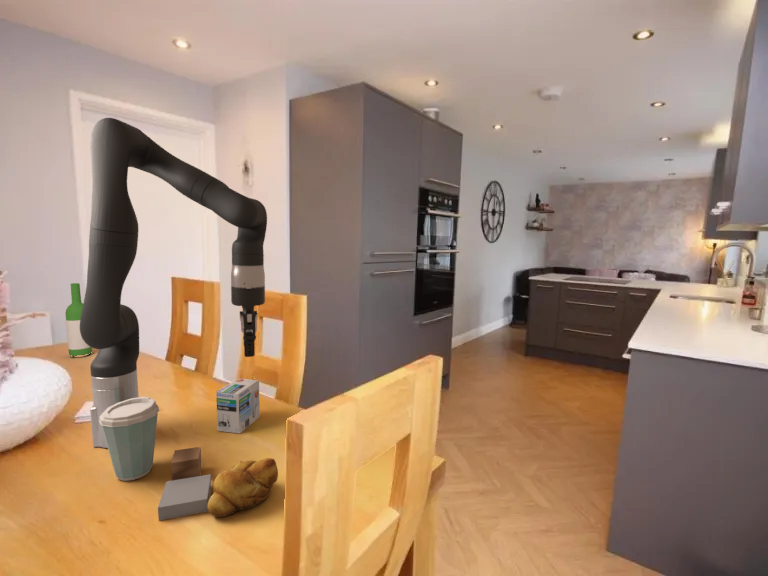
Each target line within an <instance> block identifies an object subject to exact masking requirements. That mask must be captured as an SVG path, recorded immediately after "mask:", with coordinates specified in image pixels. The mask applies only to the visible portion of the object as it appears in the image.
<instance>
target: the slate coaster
mask: <svg viewBox="0 0 768 576" xmlns="http://www.w3.org/2000/svg"><path fill="white" fill-rule="evenodd" d="M211 490H212V474H205V475H200V476H197V477H191V478H185V479H179V480H173V481H172V480H168V481H167V480H166V482H165V485H164V487H163V491H162V493H161V494H162V495H161V497H160V500H159V503H158V506H157V514H158V521H164V520H170V519H174V518H180V517H185V516H192V515H195V514H201V513H207V512H209V511H208V507H207V505H208V501H209V499H210V497H211V492H212V491H211Z"/></svg>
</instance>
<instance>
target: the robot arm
mask: <svg viewBox="0 0 768 576" xmlns="http://www.w3.org/2000/svg"><path fill="white" fill-rule="evenodd" d="M89 145H90V158H91V159H90V160H91V161H90V162H91V175H92V176H91V178H92V179H91V180H92V182H91V184H92V186H91V189H92V191H91V213H90V214H91V215H90V223H89V224H90V225H89V237H88V260H87V261H88V262H87V270H86V271H87V274H86V275H87V276H86V286H85V292H84V293H85V294H84V300H83V302H82V303H83V308H82V313H81V319H80V333H81V337H82V339H83V340H84V342H85V343H86V344H87V345H89V346H90V347H92V349H95V350H98V351H97V354H96V356H95V358H94V359H93V360H92V362H91V364H90V366H89V368H90V378H91V379H90V380H91V392H92V394H91V395H92V402H93V404H92V406H91V407H90V410H89V411H90V425H91V426H90V427H91V437H92V447H93V448H97V447H98V448H104V449H106V448H107V449H108V447H107V443H106V439H105V436H104V432H103V429H102V425H101V424H100V422H99V417H100V415H101V414H102V413H103V412H104V411H105V410H106V409H107V408H108V407H110V406H112V405H114V404H116V403H118V402H122V401H125V400H128V399H131V398H137V397H140V395H139V384H138V383H139V382H138V369H137V368H138V367H137V365H138V364H137V362H138V360H139V356H140V323H139V320H138V315H137V314H136V313H135V311H134V309H132V308H131V307H130V306H127V305H125V304H122V303H121V302H122V301H121V300H122V291H123V287H124V284H125V282H126V279H127V277H128V276H129V273H130V271H131V269H132V266H133V265H134V262H135V259H136V257H137V252H138V242H139V222H138V217H137V214H136V212H135V210H134V209H135V208H134V207H133V206H134V205H133V203H132V201H131V197H130V195H129V190H128V171H129V168H134V169H136V170H139V171H142V172H146V173H148V174H151V175H153V176H155V177H157V178H159V179H161V180H163V181H164V182H166V183H167V184H169V185H170V186H171V187H173V188H174V189H175V190H176V191H177V192H179V193H180V194H182V195H183V196H185V197H186V198H187V199H189V200H191V201H193V202H195V203H197V204H198V205H201V207H203V208H205V209H208V210H211V211H212V212H213V213H214V214H216V215H217V216H219V217H220V218H221V219H222V220H224V221H226V222H227V223H229V224H230V225H232V226H235V227H236V228H237V235H236V239H235V240H234V241H233V242H232V246H231V271H230V294H231V298H230V299H231V300H230V301H231V304H232V305H233V306H236V307H237V306H238V307H241V309H242V310H240V311H239V321H240V331H241V332H242V333H243V337H242V340H243V347H244V349H243V350H244V352H243V353H244V357H245V358H250V357H254V356H255V351H256V350H255V349H256V347H255V345H256V344H255V341H256V339H257V335H256V332H257V331H258V330H257V329H258V322H257V321H258V317H259V315H258V310H255V307H256V306H262V305H264V304H265V303H266V293H265V292H266V282H265V281H266V280H265V279H266V276H265V266H264V263H265V262H264V257H265V255H264V243H265V239H266V233H267V225H268V213H267V209H266V207H265V206H264V204H263V203H262V202H261V201H259V200H258V199H255V198H251V197H248V196H245V195H243V194H241V193H240V192H238V191H236V190H233V188H230V187H229V186H228V185H227V184H226V183H225V182H224V181H222V180H220V179H218V178H216V177H214V176H212V175H211V174H209V173H207V172H205V171H203V170H202V169H200V168H198V167H196V166H194V165H192V164H190V163H188V162H186V161H184V160H182V159H180V158H179V157H176V156H175V155H174V154H172V153H170V152H169V151H167V150H166V149H164V148H163V146H161V145H160V144H158V143H157V142H156V141H154V140H153V139H152V138H151V137H149V136H148V135H147V134H146V133H144V132H143V131H142V130H141V129H139V128H137V127H135V126H133V125H131V124H129V123H126V122H125V121H122V120H120V119H117V118H113V117H104V118H102V119H100V120H98V121H97V122H96V123H95V124H94V126H93V127H92V130H91V135H90V144H89Z"/></svg>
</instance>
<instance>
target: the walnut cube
mask: <svg viewBox="0 0 768 576" xmlns="http://www.w3.org/2000/svg"><path fill="white" fill-rule="evenodd" d="M202 465H203V464H202V447H201V446H196V447H190V448H189V447H188V448H183V449H176V450H174V451H173V455H172V459H171V462H170V470H171V471H170V472H171V474H170V475H171V481H173V480H179V479H185V478H191V477H197V476H201V474H202V468H203V467H202Z"/></svg>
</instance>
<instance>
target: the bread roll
mask: <svg viewBox="0 0 768 576" xmlns="http://www.w3.org/2000/svg"><path fill="white" fill-rule="evenodd" d="M278 478H279V470H278V466H277V462H276V460H275V459H274V458H272V457H266V458H264V459H260V460H259V459H258V460H256V461H255V460H240V461H239V462H238V463H237V464H236V465H235V466H234V467H233V468H232V469H225V470H223V471H222V472H220V473H219V474H218V475H217V476H216V478H215V479H214V482H213V493H212V495H210V499H209V501H208V505H207V507H208V511H207V512H209V514H210V515H211V516H212V517H213V516H214V517H216V518H217V517H218V518H219V517H227V516H230V515H232V514H234V513H236V512H237V511H239V510H246V509H252V508H254V507H256V506H259V505H260V504H261V503H263V502H264V501H265V500H267V499H268V498H269V496H270V495H271V493H272V489H273V486H274V484H275V483H276V482H277V481H278Z"/></svg>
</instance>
